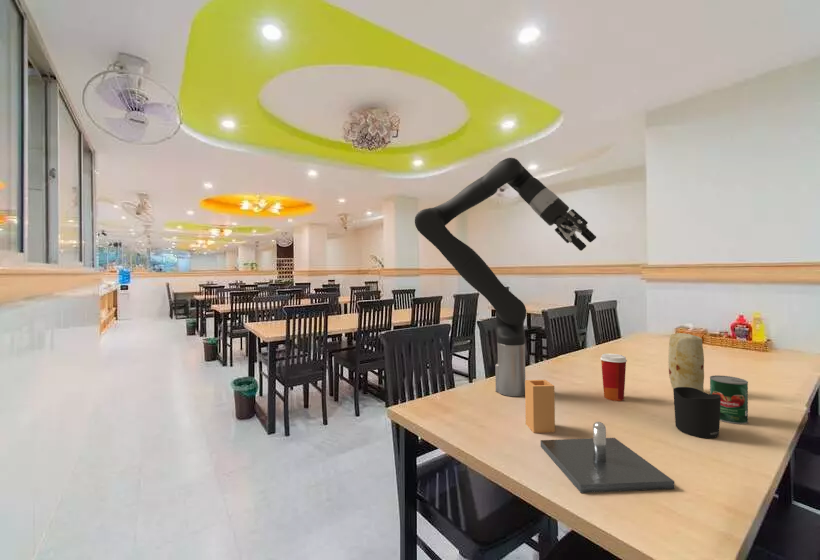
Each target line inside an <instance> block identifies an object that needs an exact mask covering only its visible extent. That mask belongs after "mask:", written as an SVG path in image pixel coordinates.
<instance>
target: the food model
mask: <svg viewBox="0 0 820 560" xmlns="http://www.w3.org/2000/svg"><path fill="white" fill-rule="evenodd" d="M667 363H668V365H667V366H668V375H669V377H668V378H669V380H670V384H671V388H672V390H673V389H674V388H676V387H691V388H695V389H698V390H700V391H702V392H705V389H704V388H705V387H704V381H705V354H704V346H703V338H702V337H700V336H698V335H695V334H694V335H693V334H690V333H684V332H683V333H681V332H678V333H677V332H676V333H672V334H670V335H669V341H668V361H667Z"/></svg>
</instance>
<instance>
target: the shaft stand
mask: <svg viewBox="0 0 820 560" xmlns="http://www.w3.org/2000/svg"><path fill="white" fill-rule="evenodd" d="M592 425H593V426H592V438H568V439H565V438H563V439H542V440H541V439H540V448H541V449H542V450H543V451H544V453H546V455H548V457H549V459H551V461H552V462H553V463H554V464H555V465H556V466H557V467H558V469H559V470H560V471H561V472H562V473H563V474H564V475H565V477H567V480H569V481H570V483H572V485H573V486H574V488H576V490H577V491H579V493H581V494H584V493H586V494H587V493H589V494H590V493H605V492H606V493H610V492H611V493H612V492H634V491H635V492H636V491H657V490H658V491H659V490H661V491H662V490H675V480H673V479H672V478H671V477H670V476H668V475H667V474H665V472H663V471H662V470H660V469H659V468H657V467H656V466H654V465H653V464H652V463H650V462H648V460H646V459H645V458H643V457H642V456H640V455H639V454H638V453H636V452H635V451H633V449H631V448H629V446H626V444H624V443H623V442H621V441H620V440H618V439H617V438H616V437H607V429H606V425H605V424H604V423H603V422H602V421H595V422H594V423H593V424H592Z"/></svg>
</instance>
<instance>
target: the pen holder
mask: <svg viewBox="0 0 820 560" xmlns="http://www.w3.org/2000/svg"><path fill="white" fill-rule="evenodd" d="M672 391H673V392H672V393H673V405H674V406H673V408H674V410H673V411H674V422H675V428H676V429H677V430H678V431H679V432H681V433H682V434H685V435H689V436H691V437H695V438H699V439H700V438H701V439H716V438H717V437H719V436H720V426H721V421H720V404H721V396H720V395H719V394H710V393H707V392H705V391H704V392H702V391H700V390H698V389H695V388H691V387H676V388H674V389H673V388H672Z"/></svg>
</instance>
